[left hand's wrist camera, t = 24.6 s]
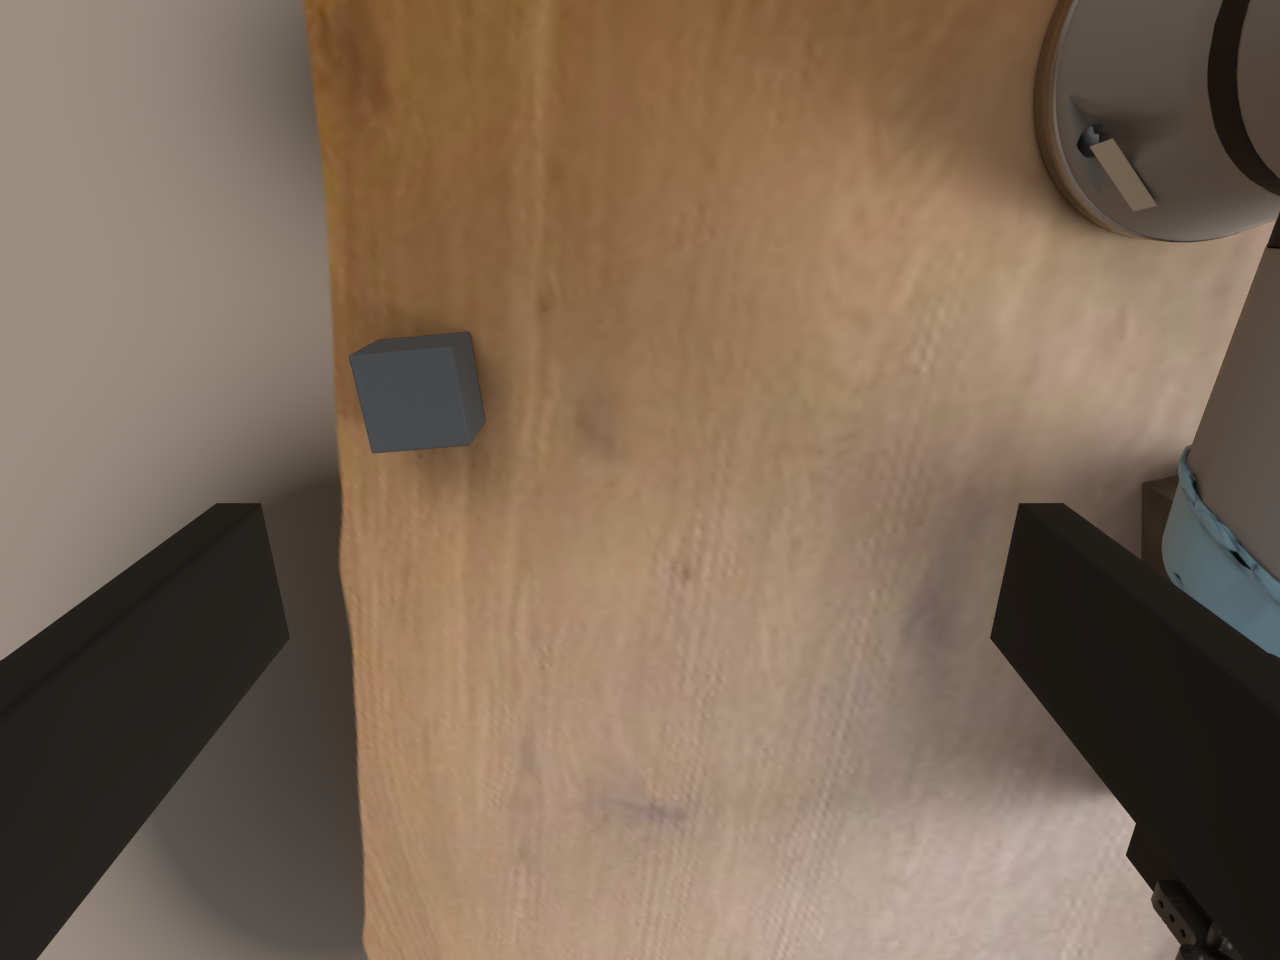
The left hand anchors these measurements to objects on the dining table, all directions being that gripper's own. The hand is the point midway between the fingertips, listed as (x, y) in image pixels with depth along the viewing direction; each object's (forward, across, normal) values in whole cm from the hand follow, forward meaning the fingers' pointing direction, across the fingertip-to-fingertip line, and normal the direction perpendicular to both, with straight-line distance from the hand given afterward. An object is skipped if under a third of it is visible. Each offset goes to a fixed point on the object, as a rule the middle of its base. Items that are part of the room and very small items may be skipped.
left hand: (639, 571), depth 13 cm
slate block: (+27, -11, -3) cm, 29 cm away
